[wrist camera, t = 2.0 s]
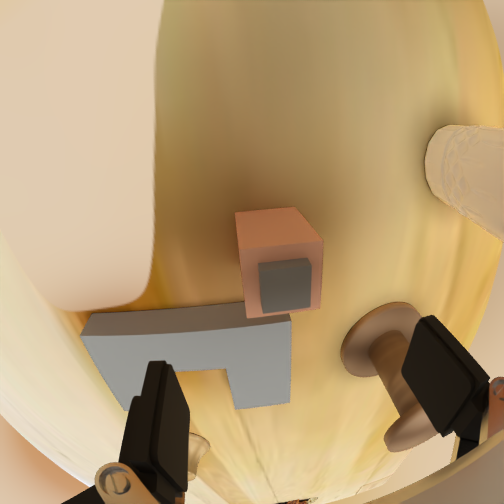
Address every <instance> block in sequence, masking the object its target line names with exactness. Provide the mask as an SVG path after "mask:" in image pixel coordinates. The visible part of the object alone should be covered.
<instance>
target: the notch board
mask: <svg viewBox="0 0 504 504" xmlns="http://www.w3.org/2000/svg"><path fill="white" fill-rule="evenodd" d="M80 338H81V340H82V341H83V343H84V345H85V347H86V349H87V351H88V353H89V355H90V356H91V358H92V360H93V362H94V364H95V365H96V367H97V369H98V370H99V372H100V374H101V376H102V377H103V379H104V380H105V382H106V384H107V385H108V387H109V388H110V390H111V392H112V393H113V395H114V396H115V398H116V399H117V401H118V402H119V404H120V405H121V407H122V408H123V410H124V411H129V409H130V405H131V401H132V398H133V397H134V396H141V391H142V387H143V383H144V378H145V374H146V370H147V366H148V363H149V361H160V360H165V361H166V362H167V364H171V365H172V366H173V369H174V372H178V371H198V370H212V369H225V368H226V371H227V375H228V380H229V384H230V389H231V393H232V397H233V402H234V406H235V410H236V409H246V408H255V407H263V406H271V405H278V404H285V403H290V384H291V318H290V315H289V313H287V314H279V315H272V316H264V317H256V318H247V315H246V307H245V302H237V303H228V304H218V305H208V306H197V307H186V308H174V309H161V310H147V311H131V312H113V313H92V315H91V316H90V318H89V320H88V322H87V323H86V325H85V327H84V329H83V331H82V332H81V334H80Z"/></svg>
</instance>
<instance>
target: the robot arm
mask: <svg viewBox="0 0 504 504" xmlns="http://www.w3.org/2000/svg"><path fill="white" fill-rule="evenodd" d="M401 374H402V376H403V378H404V380H405V381H406V383H407V384H408V386H409V387H410V389H411V391H412V392H413V394H414V395H415V397H416V399H417V400H418V402H419V403H420V405H421V407H422V408H423V410H424V412H425V413H426V415H427V417H428V418H429V420H430V422H431V423H432V425H433V427H434V428H435V430H436V431H437V432H438V433H440V434H441V435H442V437H445V436H446V435H448V434H450V433H452V432H453V431H454V432H455V433H456V437H455V443H454V448H453V453H452V457H451V462H450V464H449V465H447V466H445V467H444V468H442V469H440V470H439V471H437V472H435V473H433V474H431V475H429V476H427V477H425V478H423V479H421V480H419V481H417V482H415V483H413V484H411V485H409V486H407V487H404V488H402V489H400V490H398V491H395V492H393V493H391V494H388V495H386V496H383V497H381V498H378V499H376V500H372V501H370V502H367V503H364V504H504V377H497V378H494V379H493V380H492V381H491V383H489V382H488V381H489V379H490V377H489V376H488V375H487V373H486V372H485V371H484V370H483V369H482V367H481V366H480V365H479V364H478V363H477V361H476V360H475V359H474V358H473V357H472V356H471V355H470V354H469V352H468V351H467V350H466V349H465V348H464V347H463V346H462V345H461V343H460V342H459V341H458V340H457V339H456V338H455V337H454V336H453V335H452V334H451V333H450V332H449V331H448V329H447V328H446V327H445V326H444V325H443V324H442V323H441V322H440V321H439V320H438V319H437V318H436V317H435V316H434V315H429V316H426V317H423V318H420V319H419V321H418V323H417V324H416V326H415V329H414V332H413V335H412V339H411V342H410V345H409V348H408V351H407V354H406V357H405V360H404V363H403V365H402V368H401ZM189 425H190V410H189V407H188V404H187V402H186V399H185V397H184V395H183V392H182V390H181V387H180V385H179V382H178V380H177V377H176V374H175V372H174V369H173V366H172V365H171V364H167V362H166V361H165V360H160V361H149V363H148V366H147V370H146V374H145V378H144V383H143V387H142V391H141V396H134V397H133V398H132V401H131V405H130V409H129V413H128V417H127V422H126V427H125V431H124V436H123V441H122V446H121V451H120V456H119V461H118V462H113V463H108V464H105V465H103V466H102V467H101V468H99V470H98V471H97V473H96V475H95V485H93V486H92V487H90V488H88V489H87V490H85V491H83V492H81V493H80V494H78V495H76V496H74V497H73V498H71V499H69V500H67V501H65V502H63V503H62V504H175V497H178V498H183V492H186V491H187V489H188V450H189Z"/></svg>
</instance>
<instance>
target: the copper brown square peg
mask: <svg viewBox="0 0 504 504" xmlns="http://www.w3.org/2000/svg"><path fill="white" fill-rule="evenodd" d="M235 220H236V229H237V239H238V248H239V258H240V267H241V275H242V283H243V291H244V299H245V307H246V315H247V318H256V317H264V316H272V315H279V314H287V313H294V312H301V311H308V310H314V309H320V304H321V287H322V265H323V240H322V238H321V237H320V236H319V235H318V234H317V232H316V231H315V230H314V229H313V228H312V226H311V225H310V224H309V223H308V222H307V220H306V219H305V218H304V217H303V216H302V215H301V213H300V212H299V211H298V210H297V209H296V208H295V207H285V208H274V209H263V210H253V211H243V212H235Z"/></svg>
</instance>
